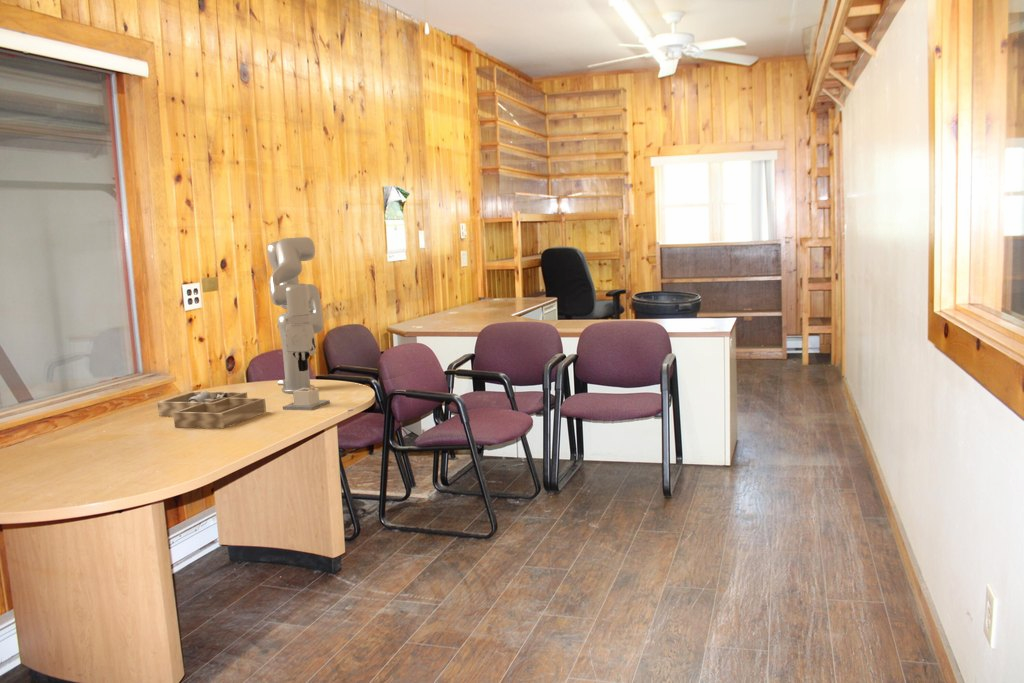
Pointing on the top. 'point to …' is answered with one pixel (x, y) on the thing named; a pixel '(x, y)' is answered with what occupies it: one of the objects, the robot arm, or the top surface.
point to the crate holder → (182, 403)
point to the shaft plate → (306, 407)
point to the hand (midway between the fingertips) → (303, 370)
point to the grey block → (306, 396)
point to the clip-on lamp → (205, 397)
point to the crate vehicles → (237, 413)
